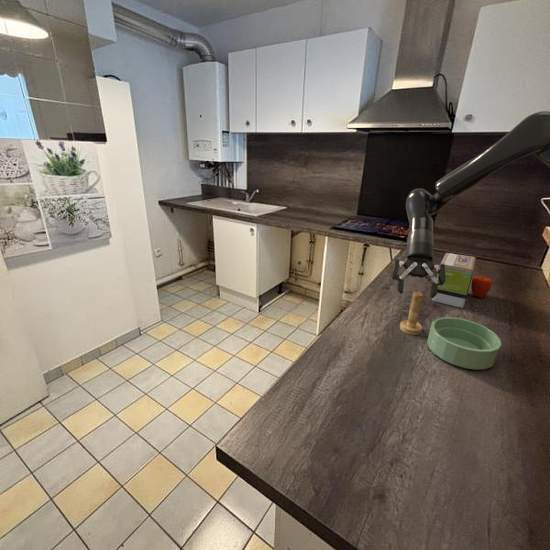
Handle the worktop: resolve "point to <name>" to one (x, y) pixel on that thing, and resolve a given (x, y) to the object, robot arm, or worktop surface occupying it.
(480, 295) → the red bell pepper
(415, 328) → the brown round-based rod
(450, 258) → the tea box
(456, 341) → the bowl
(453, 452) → the worktop surface
